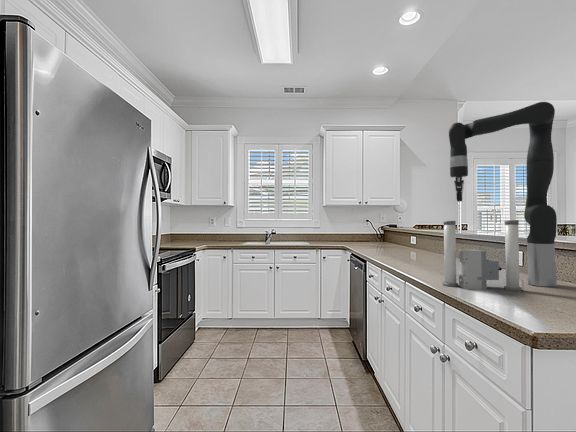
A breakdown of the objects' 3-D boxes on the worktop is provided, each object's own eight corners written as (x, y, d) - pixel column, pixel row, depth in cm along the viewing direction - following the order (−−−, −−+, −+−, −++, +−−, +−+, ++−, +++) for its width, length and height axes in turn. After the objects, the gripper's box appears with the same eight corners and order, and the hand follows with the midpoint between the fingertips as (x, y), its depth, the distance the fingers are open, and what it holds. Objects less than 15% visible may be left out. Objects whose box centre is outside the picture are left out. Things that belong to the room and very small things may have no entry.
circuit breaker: (503, 289, 135) (503, 251, 135) (464, 288, 138) (463, 251, 138) (496, 286, 143) (495, 249, 143) (458, 285, 145) (458, 249, 146)
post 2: (521, 289, 137) (519, 220, 137) (523, 291, 131) (521, 220, 132) (503, 287, 139) (501, 220, 140) (504, 290, 134) (503, 220, 134)
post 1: (458, 284, 147) (457, 220, 147) (458, 287, 141) (457, 220, 141) (443, 283, 149) (442, 220, 150) (442, 286, 144) (441, 221, 144)
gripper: (467, 163, 155) (468, 200, 155) (467, 167, 168) (468, 201, 167) (449, 165, 158) (449, 200, 158) (450, 168, 171) (451, 201, 171)
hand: (459, 201), depth 163 cm, fingers open, 8 cm apart
